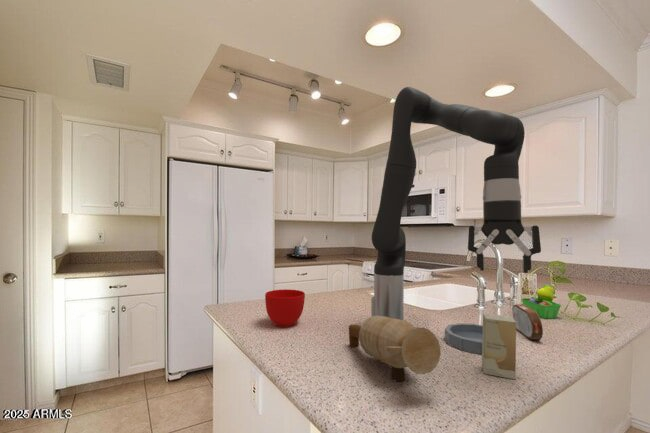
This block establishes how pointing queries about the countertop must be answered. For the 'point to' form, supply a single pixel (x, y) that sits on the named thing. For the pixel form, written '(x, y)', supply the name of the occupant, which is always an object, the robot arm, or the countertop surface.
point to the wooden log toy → (397, 345)
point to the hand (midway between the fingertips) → (502, 271)
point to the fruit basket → (543, 303)
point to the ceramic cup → (284, 306)
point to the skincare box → (499, 346)
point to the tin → (527, 321)
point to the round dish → (465, 337)
